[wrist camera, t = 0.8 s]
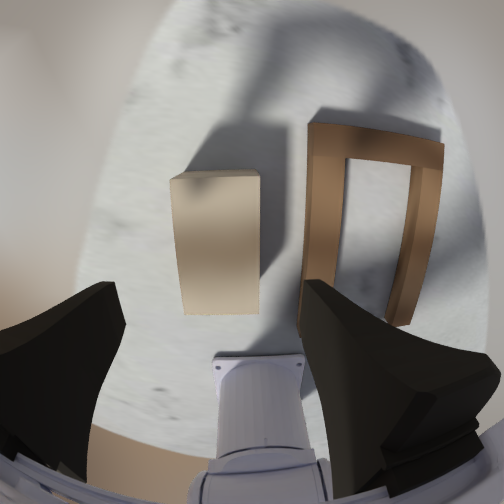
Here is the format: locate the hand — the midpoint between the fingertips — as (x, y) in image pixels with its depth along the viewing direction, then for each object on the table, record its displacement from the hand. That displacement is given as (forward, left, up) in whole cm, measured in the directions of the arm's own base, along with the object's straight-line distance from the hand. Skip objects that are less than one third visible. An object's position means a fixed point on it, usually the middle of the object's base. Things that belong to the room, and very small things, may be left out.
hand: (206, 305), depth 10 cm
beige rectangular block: (0, 0, -9) cm, 9 cm away
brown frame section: (-1, -11, -9) cm, 14 cm away
